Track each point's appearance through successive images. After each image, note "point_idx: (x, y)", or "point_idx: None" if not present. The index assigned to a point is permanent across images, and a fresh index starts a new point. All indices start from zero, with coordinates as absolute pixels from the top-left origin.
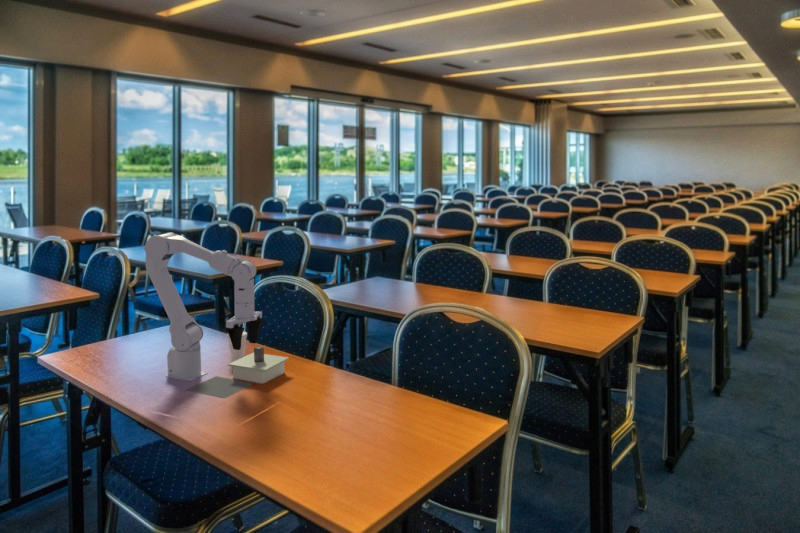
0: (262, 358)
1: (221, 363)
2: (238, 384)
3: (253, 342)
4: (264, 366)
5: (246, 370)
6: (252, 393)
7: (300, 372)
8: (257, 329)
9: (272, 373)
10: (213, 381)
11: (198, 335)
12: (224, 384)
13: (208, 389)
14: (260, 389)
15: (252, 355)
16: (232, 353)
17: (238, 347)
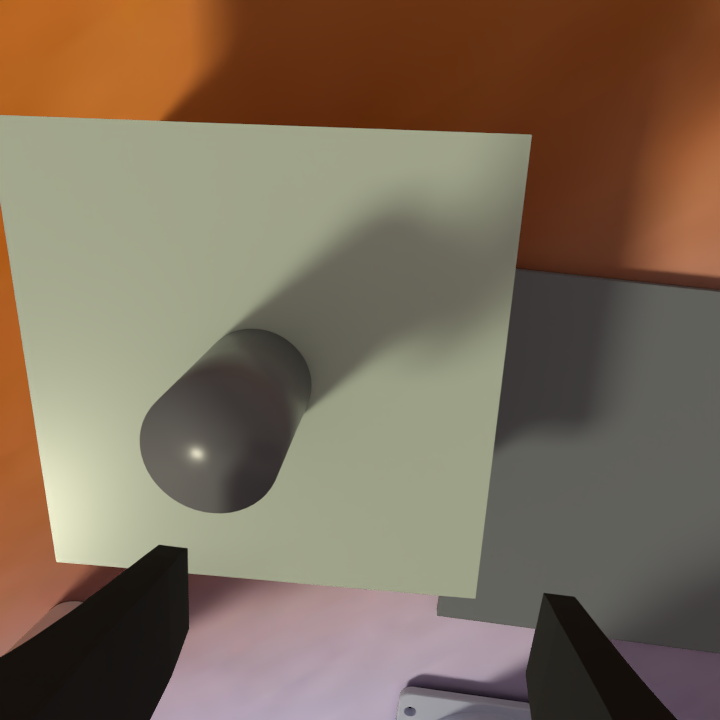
0: (261, 342)
1: (165, 709)
2: (556, 378)
3: (181, 579)
4: (414, 218)
5: None
6: (702, 158)
7: (11, 23)
8: (41, 711)
9: None
10: (550, 579)
11: None
12: (590, 477)
13: None
14: (582, 144)
15: (141, 525)
16: None
17: (596, 629)
